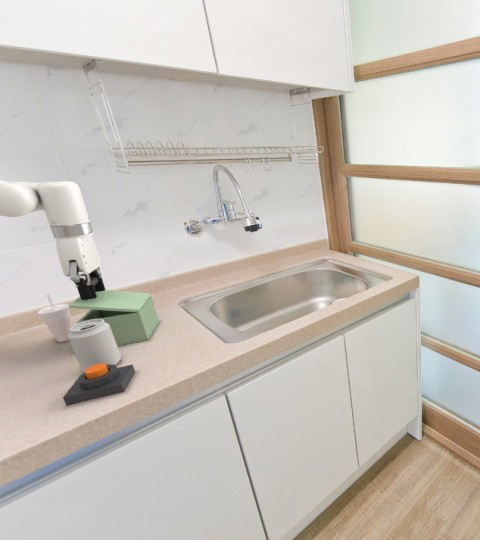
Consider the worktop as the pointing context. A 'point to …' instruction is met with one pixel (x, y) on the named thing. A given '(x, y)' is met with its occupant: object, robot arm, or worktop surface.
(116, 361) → the can
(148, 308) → the green hinged box
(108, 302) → the lid
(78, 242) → the robot arm
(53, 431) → the worktop surface
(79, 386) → the control block
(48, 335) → the worktop surface
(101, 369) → the button
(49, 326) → the smoothie
